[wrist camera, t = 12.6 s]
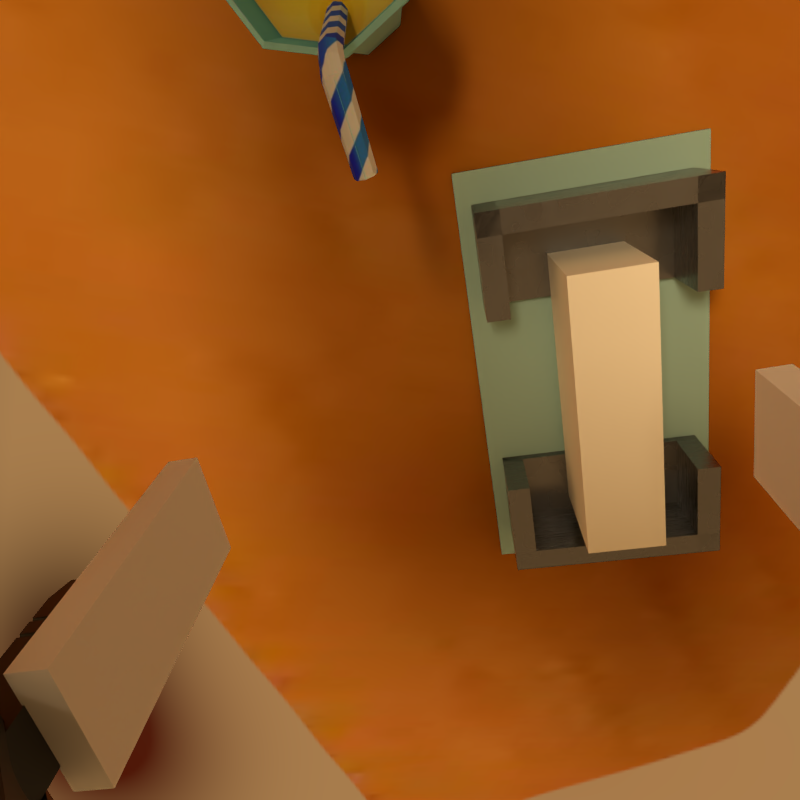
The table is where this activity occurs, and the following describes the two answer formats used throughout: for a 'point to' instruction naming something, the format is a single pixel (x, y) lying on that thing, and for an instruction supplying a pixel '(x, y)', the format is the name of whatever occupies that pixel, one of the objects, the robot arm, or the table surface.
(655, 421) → the slat
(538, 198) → the grey u-shaped bracket
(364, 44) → the cup
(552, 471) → the cap
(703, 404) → the mat
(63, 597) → the robot arm
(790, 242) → the table surface
